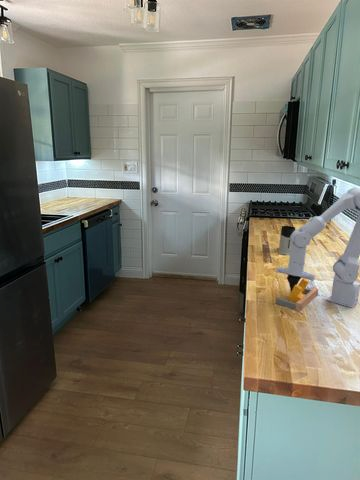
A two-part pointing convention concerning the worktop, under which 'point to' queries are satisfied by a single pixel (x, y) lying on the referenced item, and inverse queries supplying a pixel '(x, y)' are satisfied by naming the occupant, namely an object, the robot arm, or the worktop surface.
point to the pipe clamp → (298, 291)
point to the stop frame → (302, 302)
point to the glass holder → (286, 239)
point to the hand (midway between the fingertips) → (292, 293)
